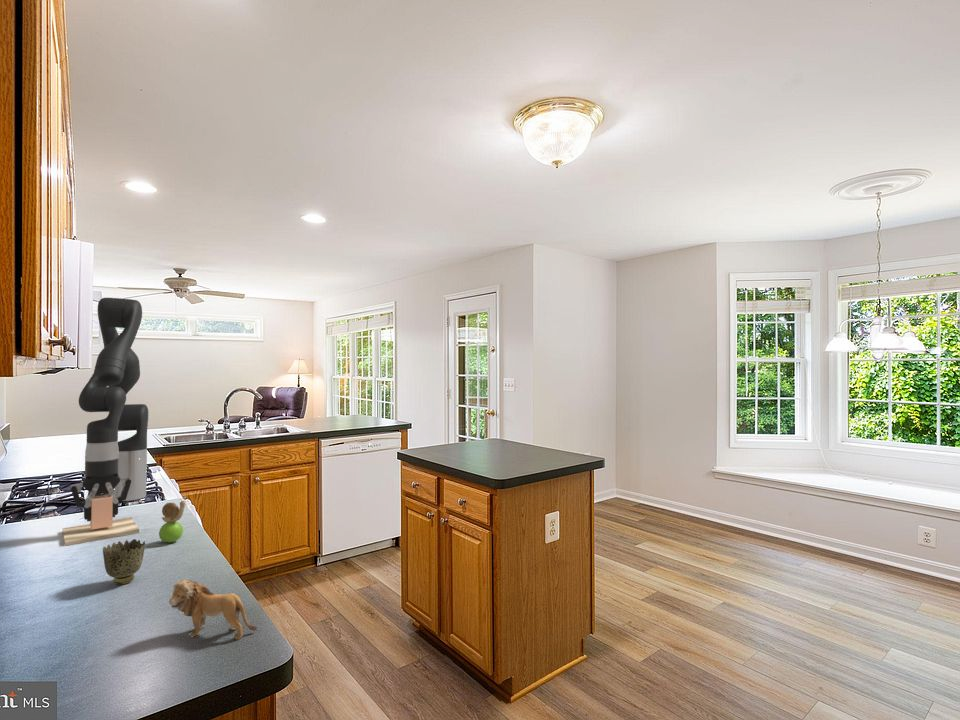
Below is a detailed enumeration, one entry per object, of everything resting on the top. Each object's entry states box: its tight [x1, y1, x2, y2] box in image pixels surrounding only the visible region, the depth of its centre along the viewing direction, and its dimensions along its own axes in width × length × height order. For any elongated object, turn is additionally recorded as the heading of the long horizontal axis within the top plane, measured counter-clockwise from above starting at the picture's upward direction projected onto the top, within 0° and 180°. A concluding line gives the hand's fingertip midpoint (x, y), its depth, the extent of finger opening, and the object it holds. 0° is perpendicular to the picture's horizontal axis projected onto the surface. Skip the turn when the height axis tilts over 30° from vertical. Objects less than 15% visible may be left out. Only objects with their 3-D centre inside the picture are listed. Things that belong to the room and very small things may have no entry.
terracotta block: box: [89, 494, 114, 529], centre depth 140 cm, size 5×5×8 cm
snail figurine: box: [158, 495, 187, 544], centre depth 132 cm, size 5×6×12 cm
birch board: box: [62, 517, 140, 547], centre depth 140 cm, size 15×16×1 cm
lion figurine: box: [168, 579, 258, 640], centre depth 87 cm, size 15×5×9 cm, turn 92°
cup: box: [102, 538, 146, 586], centre depth 107 cm, size 8×7×8 cm
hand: (101, 518), depth 140 cm, fingers open, 5 cm apart
